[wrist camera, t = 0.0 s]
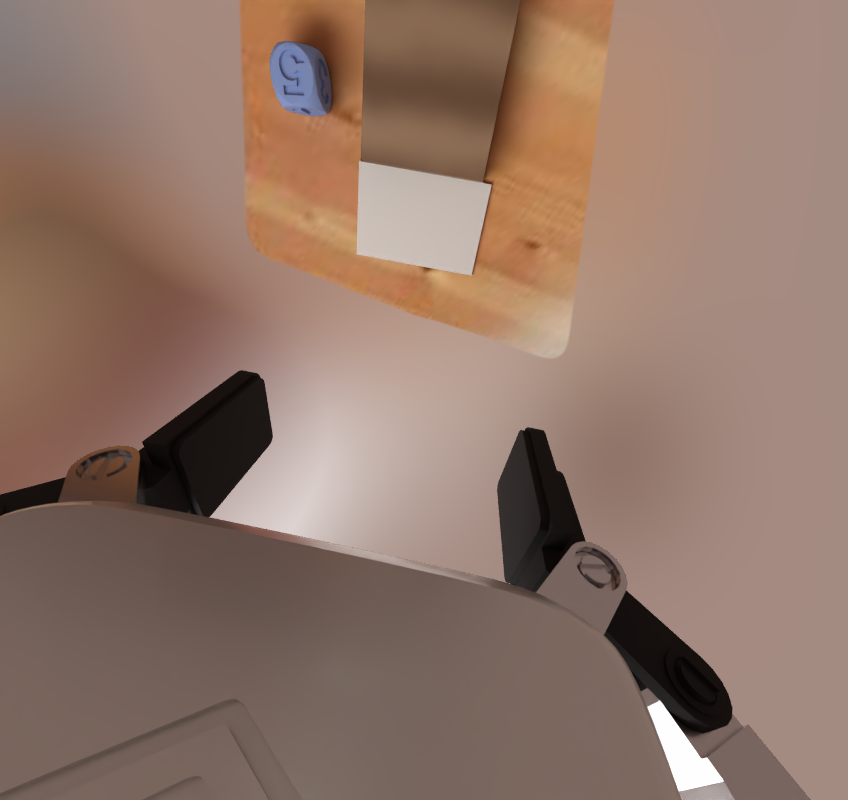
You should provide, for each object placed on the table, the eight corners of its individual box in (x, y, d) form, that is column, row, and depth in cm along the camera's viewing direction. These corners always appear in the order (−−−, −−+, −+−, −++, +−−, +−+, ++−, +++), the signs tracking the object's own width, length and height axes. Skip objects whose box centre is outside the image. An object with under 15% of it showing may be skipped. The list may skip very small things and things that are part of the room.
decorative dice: (295, 114, 32) (274, 104, 28) (288, 58, 29) (265, 39, 26) (333, 117, 31) (317, 107, 28) (329, 59, 29) (311, 41, 26)
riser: (376, -15, 26) (366, -38, 24) (518, 8, 26) (523, -13, 23) (369, 162, 33) (360, 159, 30) (482, 182, 32) (482, 181, 30)
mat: (360, 161, 33) (359, 161, 33) (491, 184, 32) (491, 184, 32) (357, 253, 38) (356, 254, 38) (471, 275, 37) (471, 275, 37)
